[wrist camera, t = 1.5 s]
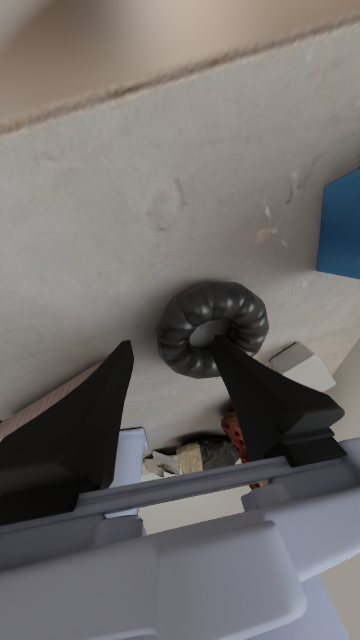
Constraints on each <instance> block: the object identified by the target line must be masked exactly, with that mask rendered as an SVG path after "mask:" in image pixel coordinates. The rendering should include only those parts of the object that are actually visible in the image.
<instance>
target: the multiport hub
mask: <svg viewBox="0 0 360 640" xmlns="http://www.w3.org/2000/svg"><path fill="white" fill-rule="evenodd" d="M270 363H271V364H272V365H273V366H274V367H275V368H276V369H277V371H278V372H279V373H280V374H281V375H283V376H285V377H287V378H289V379H291V380H294V381H296V382H298V383H300V384H303V385H305V386H307V387H310V388H312V389H315V390H317V391H320V392H323V391H325V390H327V389H329V388H331V387H333V386H334V385H336V382H335V381H334V380H333V378H332V376H331V375H330V373H329V372H328V370H327V369H326V367H325V366H324V364H323V363H322V361H321V360H320V358H319V357H318V356H317V355H316V354H315V353H314V352H312V351H311V350H309V349H308V348H307V347H305V346H304V345H303V344H301V343H300V342H298V343H295V344H294V345H292V346H291V347H289V348H288V349H286V350H285V351H283V352H282V353H280V354H278V355H277V356H275V357H274V358H272V359H271V360H270Z"/></svg>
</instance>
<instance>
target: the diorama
mask: <svg viewBox="0 0 360 640" xmlns="http://www.w3.org/2000/svg"><path fill="white" fill-rule="evenodd" d="M152 452H153V453H152V455H153V459H145V465H146V470H147V471H149V472H152V473H154V474H156V475H158V476H160V477H164V475H163V471H165V472H168V473H170V474H176V475H178V474H180V473H179V472H180V463H179V462H178V460H177V459H174V458H171V457H169V456H166V455H163V454H161V453H158V452H155V451H152Z"/></svg>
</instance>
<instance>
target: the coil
mask: <svg viewBox="0 0 360 640" xmlns="http://www.w3.org/2000/svg"><path fill="white" fill-rule="evenodd" d="M104 361H105V360H104ZM104 361H101V362H99V363H97V364H95V365H94V366H93V367H91V368H89V369H88V370H86V371H84V372H82V373H81V374H80V375H78V376H76V377H74V378H73V379H71V380H70V381H68V382H67V383H65V384H63V385H61V386H60V387H58V388H57V389H55V390H54V391H52V392H50V393H49V394H47V395H45V396H44V397H42V398H41V399H39V400H37V401H36V402H34V403H32V404H31V405H29V406H28V407H26V408H24V409H23V410H21V411H19V412H18V413H16V414H15V415H13V416H11V417H10V418H8V419H6V420H5V421H3V422H2V423H0V442H1V440H2V439H3V438H4V437H5V436H7V435H8V434H10V433H11V432H13V431H15V430H16V429H18V428H19V427H21V426H22V425H24V424H25V423H27V422H29V421H30V420H32V419H33V418H35V417H36V416H38V415H39V414H41V413H42V412H44V411H45V410H47V409H48V408H49V407H51V406H52V405H54V404H55V403H56V402H58V401H59V400H60V399H62V398H63V397H64V396H66V395H67V394H68V393H70V392H71V391H72V390H73V389H75V388H76V387H77V386H78V385H80V384H81V383H82V382H83V381H84V380H85V379H87V378H88V377H89V376H90V375H91V374H92V373H93V372H94V371H95V370H96V369H97V368H98V367H99V366H100V365H101V364H102V363H103V362H104Z"/></svg>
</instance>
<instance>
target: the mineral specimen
mask: <svg viewBox="0 0 360 640" xmlns="http://www.w3.org/2000/svg"><path fill="white" fill-rule="evenodd" d="M176 454H177V459H178V462H179V463H180V464H181V467H182V473H183V474H189V473H194V472H199V471H205V470H210V469H215V468H221V467H226V466H231V465H235V463H236V461H237V460H238V459H239V458H240V457H239V455H238V454H237V450H236V448H235V446H234V444H233V443H232V441H231V439H230V438H228V439H226V440H223V439H218V438H204V439H199V440H198V441H196V442H195V443H189V444H186V445H184V446H183V447H177V451H176Z"/></svg>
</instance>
